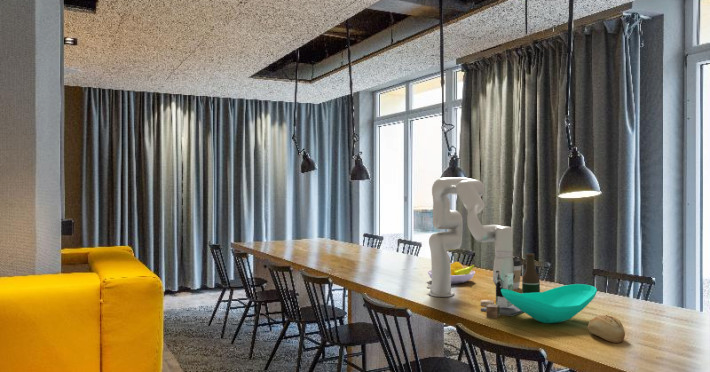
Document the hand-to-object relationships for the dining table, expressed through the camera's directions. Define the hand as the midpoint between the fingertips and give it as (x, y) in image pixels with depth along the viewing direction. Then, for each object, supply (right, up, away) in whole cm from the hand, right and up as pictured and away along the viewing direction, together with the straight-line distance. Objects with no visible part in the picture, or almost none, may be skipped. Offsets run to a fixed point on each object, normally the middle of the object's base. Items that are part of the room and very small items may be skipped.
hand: (504, 294), depth 245 cm
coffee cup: (+18, -7, +51) cm, 54 cm away
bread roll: (+25, -7, -45) cm, 52 cm away
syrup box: (0, -5, 0) cm, 5 cm away
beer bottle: (+14, -7, +7) cm, 17 cm away
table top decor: (+13, -7, -20) cm, 25 cm away
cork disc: (-5, -7, +11) cm, 14 cm away
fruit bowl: (-10, -7, +71) cm, 72 cm away
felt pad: (0, -7, 0) cm, 7 cm away
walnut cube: (-7, -7, -10) cm, 14 cm away
